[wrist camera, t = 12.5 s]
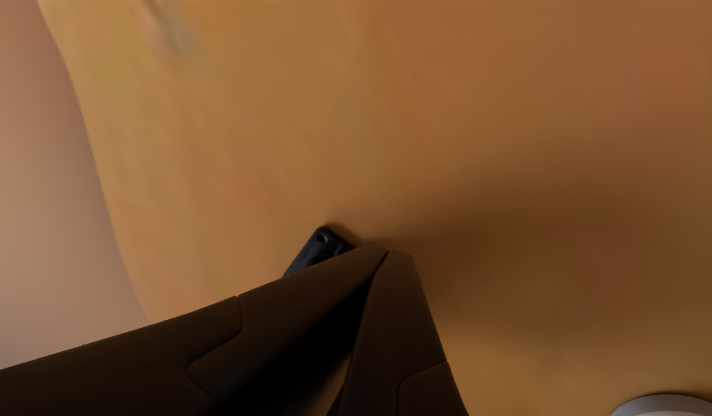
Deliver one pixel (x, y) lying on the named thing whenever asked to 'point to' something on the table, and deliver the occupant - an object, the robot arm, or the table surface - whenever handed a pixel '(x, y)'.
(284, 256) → the table surface
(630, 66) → the table surface
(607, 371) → the table surface
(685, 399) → the travel mug
